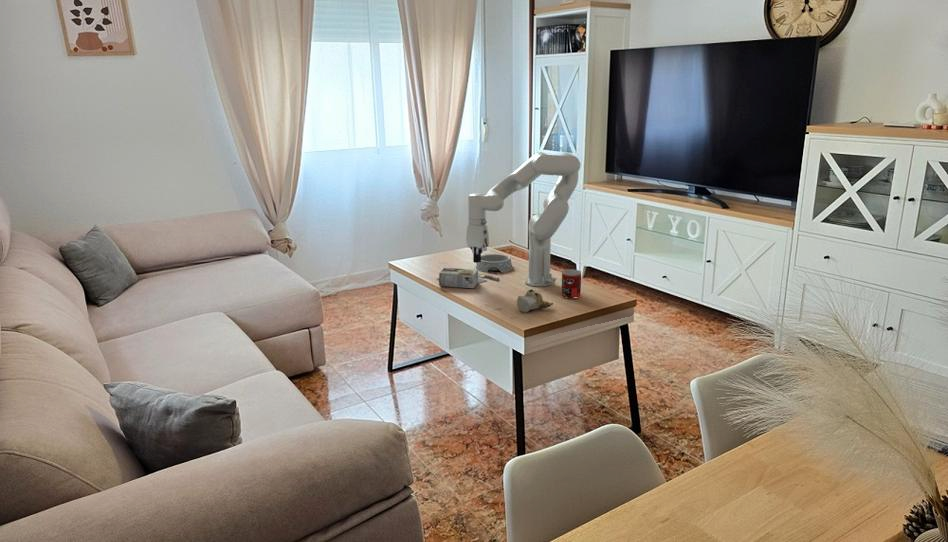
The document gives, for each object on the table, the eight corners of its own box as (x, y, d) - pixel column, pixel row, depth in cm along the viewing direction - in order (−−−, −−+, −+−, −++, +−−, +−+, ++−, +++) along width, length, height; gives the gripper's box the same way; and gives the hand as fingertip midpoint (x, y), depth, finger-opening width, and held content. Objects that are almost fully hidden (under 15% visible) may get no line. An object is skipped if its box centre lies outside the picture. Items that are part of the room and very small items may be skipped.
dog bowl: (476, 263, 315) (476, 253, 314) (512, 263, 315) (512, 253, 313) (475, 273, 299) (474, 262, 298) (513, 273, 298) (513, 262, 297)
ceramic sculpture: (509, 288, 246) (537, 283, 255) (508, 309, 248) (535, 303, 257) (528, 295, 238) (555, 290, 247) (526, 317, 240) (554, 310, 249)
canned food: (558, 295, 265) (558, 270, 262) (574, 292, 268) (575, 268, 265) (567, 300, 258) (568, 275, 255) (583, 298, 261) (584, 273, 258)
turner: (501, 279, 287) (501, 276, 287) (494, 281, 284) (494, 279, 284) (478, 273, 297) (478, 271, 297) (471, 275, 294) (471, 273, 294)
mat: (486, 280, 285) (486, 280, 285) (465, 287, 276) (465, 287, 276) (458, 273, 298) (458, 272, 298) (436, 279, 289) (436, 278, 289)
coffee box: (478, 282, 282) (444, 280, 286) (478, 269, 280) (444, 267, 284) (473, 288, 273) (438, 286, 277) (473, 274, 272) (438, 272, 275)
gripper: (495, 222, 269) (495, 263, 275) (470, 218, 279) (471, 257, 285) (483, 225, 264) (483, 266, 269) (458, 220, 274) (459, 260, 279)
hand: (477, 261), depth 277 cm, fingers closed
